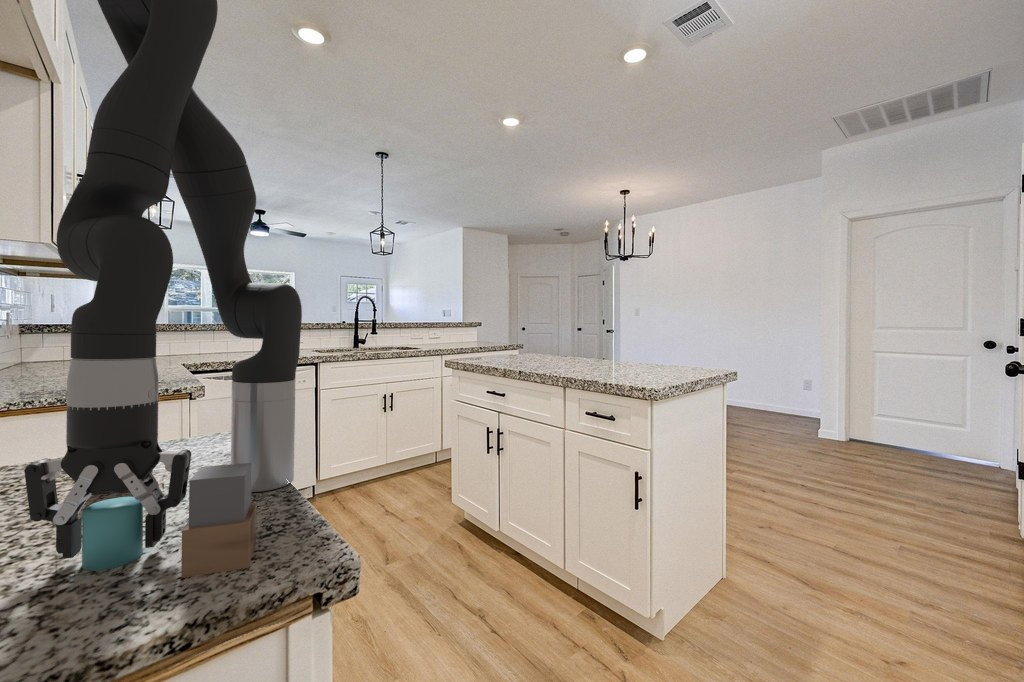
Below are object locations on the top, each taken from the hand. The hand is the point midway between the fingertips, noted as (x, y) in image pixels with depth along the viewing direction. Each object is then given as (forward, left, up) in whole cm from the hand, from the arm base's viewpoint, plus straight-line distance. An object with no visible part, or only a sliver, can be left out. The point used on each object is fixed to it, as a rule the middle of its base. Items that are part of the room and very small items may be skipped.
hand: (113, 549), depth 49 cm
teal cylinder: (0, 0, -1) cm, 1 cm away
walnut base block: (+4, +11, -1) cm, 12 cm away
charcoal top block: (+4, +11, +4) cm, 12 cm away
